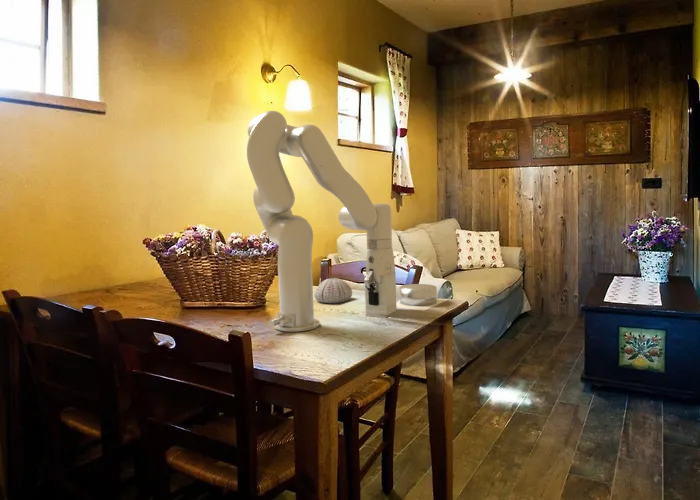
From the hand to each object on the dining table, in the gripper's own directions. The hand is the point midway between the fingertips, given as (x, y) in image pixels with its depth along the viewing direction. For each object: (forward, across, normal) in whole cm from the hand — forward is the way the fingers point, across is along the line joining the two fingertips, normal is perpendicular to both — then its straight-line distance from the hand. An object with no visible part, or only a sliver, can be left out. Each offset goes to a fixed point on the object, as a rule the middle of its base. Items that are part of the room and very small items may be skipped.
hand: (380, 302), depth 163 cm
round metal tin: (+3, +17, -4) cm, 18 cm away
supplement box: (+4, 0, 0) cm, 4 cm away
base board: (+4, +16, -4) cm, 17 cm away
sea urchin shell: (+4, +11, +26) cm, 29 cm away
